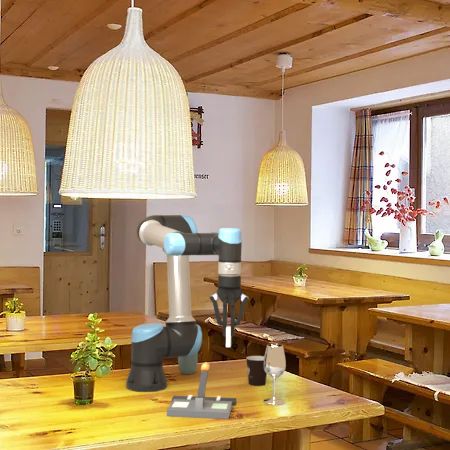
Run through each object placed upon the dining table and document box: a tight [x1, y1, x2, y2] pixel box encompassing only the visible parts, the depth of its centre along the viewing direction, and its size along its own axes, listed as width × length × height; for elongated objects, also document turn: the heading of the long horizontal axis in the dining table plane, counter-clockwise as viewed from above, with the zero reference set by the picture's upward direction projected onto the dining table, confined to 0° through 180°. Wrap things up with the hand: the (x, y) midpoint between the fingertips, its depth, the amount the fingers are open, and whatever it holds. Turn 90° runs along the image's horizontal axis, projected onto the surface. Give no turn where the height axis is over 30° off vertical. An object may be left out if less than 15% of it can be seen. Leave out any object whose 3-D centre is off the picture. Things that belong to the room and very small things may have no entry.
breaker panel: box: [166, 395, 233, 420], centre depth 249 cm, size 20×14×5 cm
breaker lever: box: [196, 361, 211, 399], centre depth 249 cm, size 3×4×13 cm, turn 175°
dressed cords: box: [171, 394, 237, 406], centre depth 260 cm, size 22×5×2 cm, turn 85°
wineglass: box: [262, 343, 287, 406], centre depth 263 cm, size 8×8×20 cm
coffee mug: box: [245, 355, 267, 387], centre depth 291 cm, size 12×9×10 cm
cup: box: [177, 352, 199, 375], centre depth 305 cm, size 8×8×10 cm
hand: (228, 346), depth 248 cm, fingers closed
